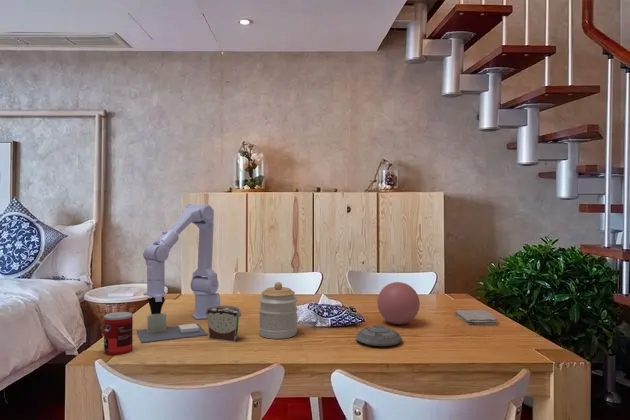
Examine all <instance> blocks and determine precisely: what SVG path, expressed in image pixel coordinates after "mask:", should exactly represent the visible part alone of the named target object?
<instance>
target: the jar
mask: <svg viewBox="0 0 630 420" xmlns="http://www.w3.org/2000/svg"><path fill="white" fill-rule="evenodd" d="M295 293H296V292H295V291H294V290H292V289H291V288H289V287H284V286H283V284H282V282H280V281H279V282H275V283H274V287H267V288H266V289H265V290H263V291H261V295H262V297H260V298H259V299H258V301H259V303H260V308H258V311H259V326H258V333H259V335H260V336H261V337H263V338H265V339H271V340H273V339H275V340H276V339H279V340H280V339H288V338H292V337H294V336H296V335H297V331H298V323H297V322H298V317H297V316H298V308H297V304H296V303H297V302H298V298H297V296H295Z"/></svg>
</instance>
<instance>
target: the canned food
mask: <svg viewBox="0 0 630 420" xmlns="http://www.w3.org/2000/svg"><path fill="white" fill-rule="evenodd" d="M133 318H134V317H133V313H132V312H128V311H116V312H110V313H106V314H104V315H103V351H104V353H105V354H106V355H108V356H120V355H125V354H128V353H131V352H132V351H133V345H134V344H133V342H134V341H133V338H134V337H133V327H134V326H133V323H134V322H133V321H134V320H133Z"/></svg>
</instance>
